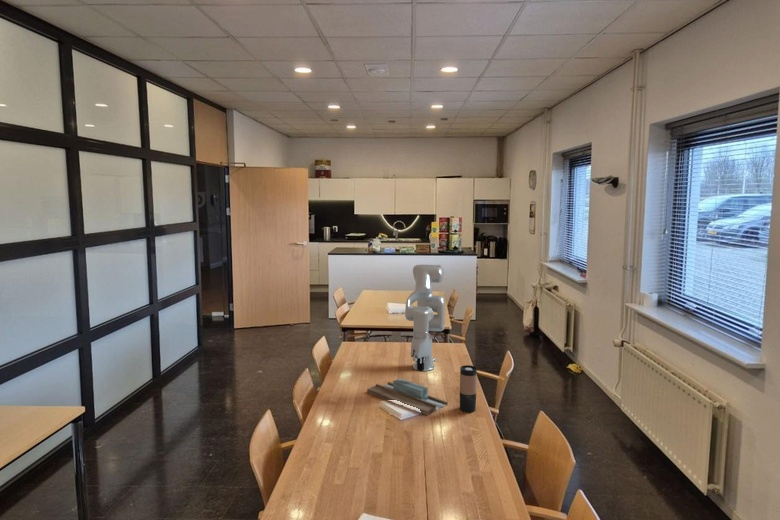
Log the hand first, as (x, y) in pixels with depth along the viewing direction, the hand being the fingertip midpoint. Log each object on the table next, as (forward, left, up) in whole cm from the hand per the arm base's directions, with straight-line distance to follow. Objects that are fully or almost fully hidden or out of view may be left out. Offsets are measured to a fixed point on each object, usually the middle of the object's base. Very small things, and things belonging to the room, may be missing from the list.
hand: (420, 370), depth 241 cm
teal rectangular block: (+7, 0, -11) cm, 14 cm away
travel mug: (+1, +29, -12) cm, 31 cm away
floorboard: (+11, 0, -12) cm, 16 cm away
